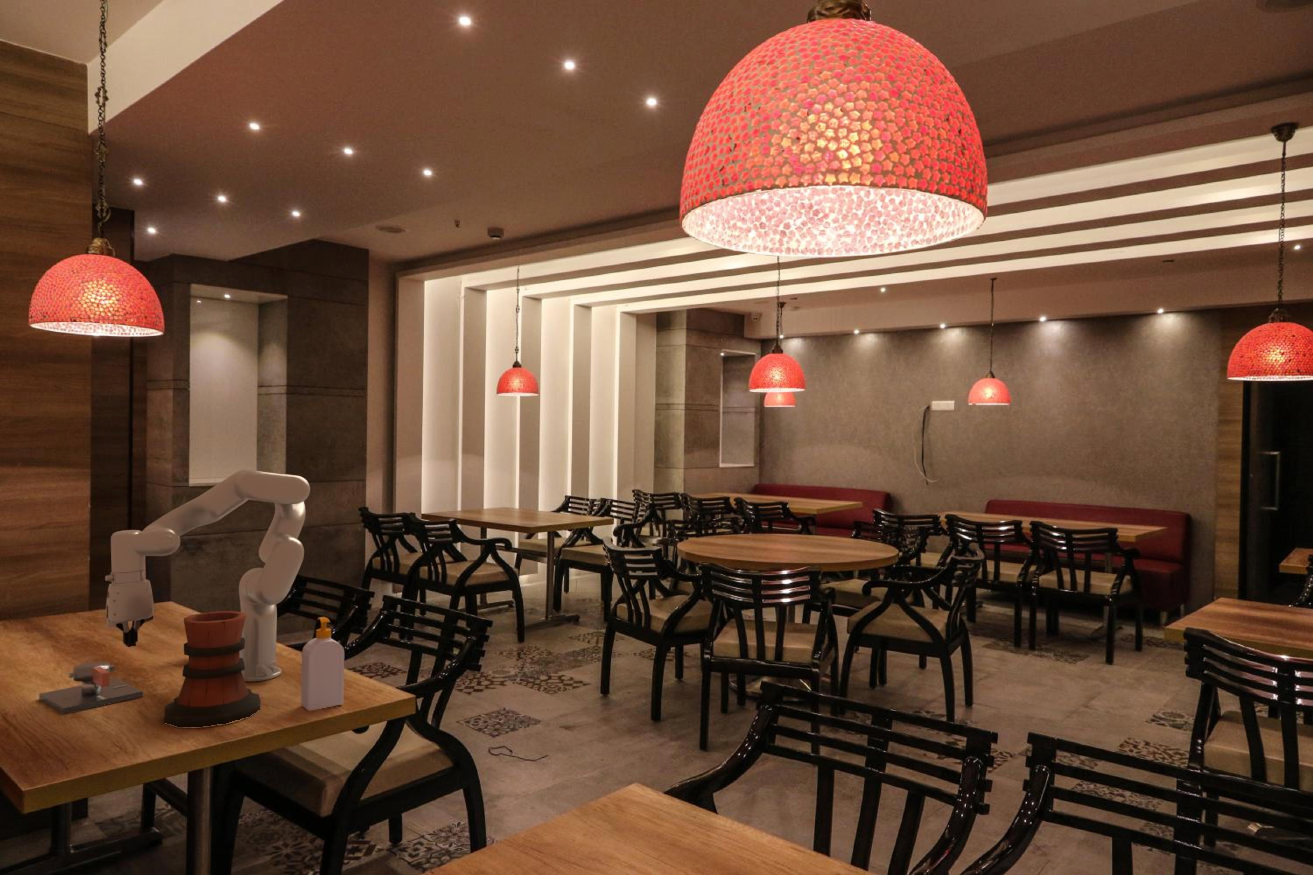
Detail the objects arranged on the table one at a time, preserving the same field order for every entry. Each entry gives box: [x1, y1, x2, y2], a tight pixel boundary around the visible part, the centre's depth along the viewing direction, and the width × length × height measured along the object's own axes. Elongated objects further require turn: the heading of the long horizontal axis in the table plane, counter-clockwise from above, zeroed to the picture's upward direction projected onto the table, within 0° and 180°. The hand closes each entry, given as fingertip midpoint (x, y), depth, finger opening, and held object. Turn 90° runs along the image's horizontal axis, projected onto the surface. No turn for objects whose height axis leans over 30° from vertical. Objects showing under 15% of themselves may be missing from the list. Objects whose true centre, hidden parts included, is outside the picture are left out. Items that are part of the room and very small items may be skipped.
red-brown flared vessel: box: [163, 610, 261, 727], centre depth 207 cm, size 22×25×25 cm
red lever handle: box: [67, 661, 116, 687], centre depth 212 cm, size 16×10×4 cm, turn 49°
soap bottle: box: [300, 616, 345, 711], centre depth 213 cm, size 9×7×23 cm
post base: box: [38, 678, 144, 715], centre depth 215 cm, size 18×18×5 cm
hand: (130, 645), depth 214 cm, fingers closed
